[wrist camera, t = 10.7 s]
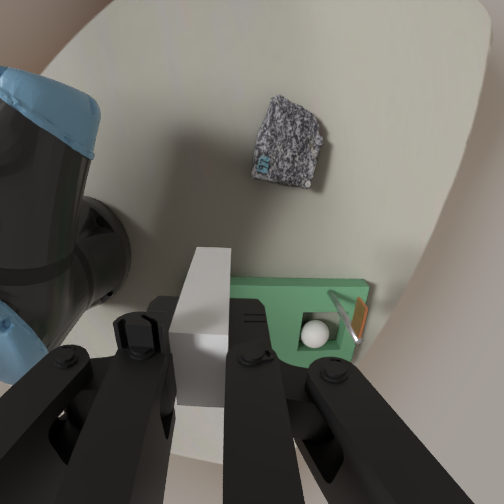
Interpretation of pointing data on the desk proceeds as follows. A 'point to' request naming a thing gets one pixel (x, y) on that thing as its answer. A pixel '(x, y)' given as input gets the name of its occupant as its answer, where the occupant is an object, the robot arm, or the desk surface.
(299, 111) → the rock
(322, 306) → the green board with hole
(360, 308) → the pin
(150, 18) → the desk surface
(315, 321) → the ball
